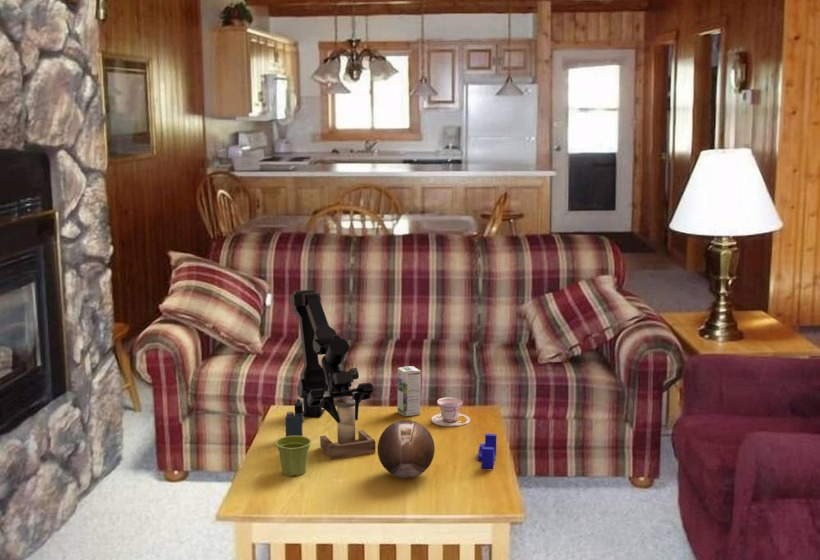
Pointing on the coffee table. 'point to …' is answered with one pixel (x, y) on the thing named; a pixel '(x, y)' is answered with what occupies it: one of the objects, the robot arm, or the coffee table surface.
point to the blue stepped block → (488, 451)
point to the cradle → (349, 446)
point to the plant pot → (293, 454)
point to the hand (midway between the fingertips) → (347, 421)
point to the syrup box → (409, 391)
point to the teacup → (449, 412)
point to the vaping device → (295, 421)
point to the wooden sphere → (406, 449)
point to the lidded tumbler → (346, 420)
